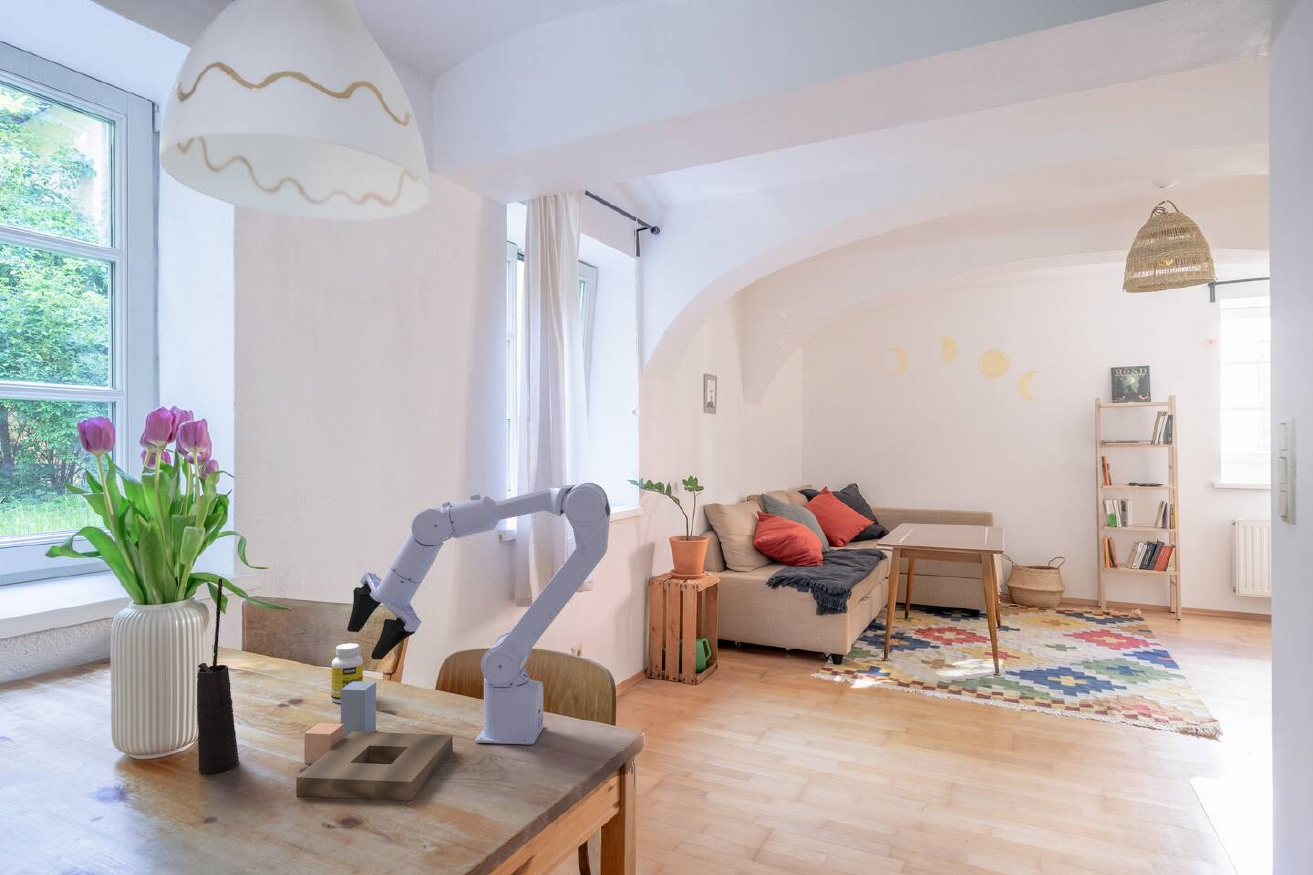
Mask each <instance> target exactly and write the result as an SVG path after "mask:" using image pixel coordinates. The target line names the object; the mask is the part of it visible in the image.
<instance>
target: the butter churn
mask: <svg viewBox="0 0 1313 875" xmlns="http://www.w3.org/2000/svg"><path fill="white" fill-rule="evenodd" d="M222 590H223V578H219V579H218V582H217V597H216V598H217V599H216V600H217V601H216V610H215V611H216V612H215V615H216V617H215V633H214V641H213V643H214V645H213V656H212V657H213V658H212V665H211V666H208V665H207V663H206V662H202V663H200V664H198V665H197V667H198V669H197V670H198V671H197V673H196V674H197V677H196V678H197V681H196V710H197V712H196V713H197V714H196V716H197V717H196V718H197V719H196V720H197V746H198V747H197V748H198V749H197V751H198V752H197V753H198V755H197V756H198V761H197V762H198V771H199V772H200V773H201V774H205V775H207V774H208V775H213V774H218V773H222V772H226V771H229V770H231V769H233V768H235V767H236V766H237V765H238V764H239V762H240V758H239V752H238V744H237V743H238V742H237V732H236V728H235V719H234V717H235V716H234V708H233V703H234V702H233V699H232V693H231V692H232V691H231V682H230V681H231V680H230V672H229V667H228V665H225V664H219V665H218V658H219V657H218V654H219V653H218V652H219V650H218V649H219V634H220V621H221V609H222V608H221V606H222V595H223V592H222Z"/></svg>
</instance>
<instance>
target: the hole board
mask: <svg viewBox="0 0 1313 875" xmlns="http://www.w3.org/2000/svg"><path fill="white" fill-rule="evenodd" d="M453 739H454V737H453V734H438V733H437V734H436V733H435V734H434V733H413V732H412V733H409V732H383V731H382V732H381V731H380V732H379V731H375V732H357V731H353V732H351V733H350V734H349V735H348V736H347V737H345V738H344V739H343V740H342V741H340V742H339V743H338V744H337V745H335V746H334V747H333V748H332V749H331V750H329V751H328V752H327V753H326V754H324V755H323V756H322V757H321V758H319V759H318V760H317V761H316V762H314V763H311V765H309V766H308V767H307V768H305V769H304V770H303V771H302V772H301V773H300V774H298V775H297V776H296V778H295V780H296V781H295V782H296V784H295V786H296V788H295V792H296V793H295V795H296V797H298V796H299V797H315V798H316V797H320V798H341V799H342V798H344V799H367V800H368V799H369V800H388V801H389V800H390V801H412V800H413V799H414V798H415V797H416V795H417V794H418V793H419V792H420V791H421V789H422V788H423V787H424V786H425V784H426V783H427V782H428V781H429V780H430V779H431V777H432V776H433V775H434V774H435V773H436V772H437V771H438V769H439V768H440V767H441V765H442V764H444V762H445V761H446V759H447V758H448V757H449V756H450V755H451V754H452V752H453V751H454V750H453V749H454V747H453V743H454V742H453V741H454V740H453Z"/></svg>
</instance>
